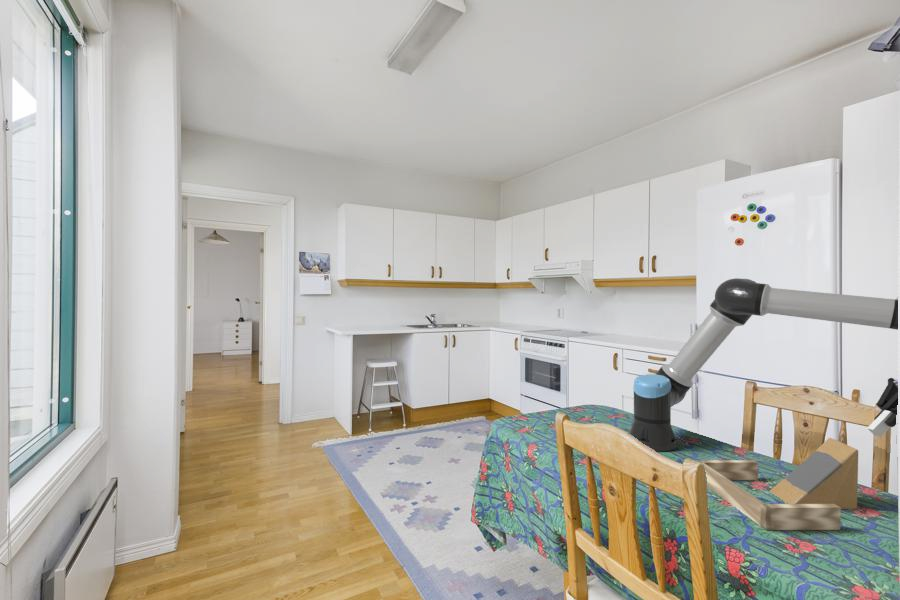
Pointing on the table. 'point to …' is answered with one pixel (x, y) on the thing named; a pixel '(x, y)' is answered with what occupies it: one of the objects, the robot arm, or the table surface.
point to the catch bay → (759, 511)
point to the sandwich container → (823, 478)
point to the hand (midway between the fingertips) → (873, 432)
